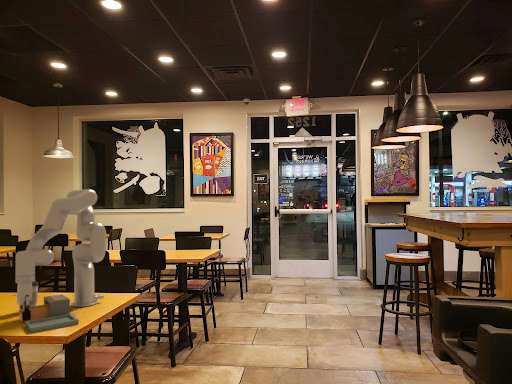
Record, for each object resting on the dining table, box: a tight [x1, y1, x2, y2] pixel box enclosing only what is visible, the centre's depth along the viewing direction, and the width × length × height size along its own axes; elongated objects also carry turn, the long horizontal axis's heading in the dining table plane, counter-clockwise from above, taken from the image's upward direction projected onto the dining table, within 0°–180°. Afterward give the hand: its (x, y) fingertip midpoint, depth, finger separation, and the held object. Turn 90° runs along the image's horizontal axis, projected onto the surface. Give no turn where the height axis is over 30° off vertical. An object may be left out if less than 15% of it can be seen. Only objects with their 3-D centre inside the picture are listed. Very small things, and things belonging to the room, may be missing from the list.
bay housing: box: [43, 294, 71, 317], centre depth 183 cm, size 16×8×8 cm, turn 38°
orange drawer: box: [18, 303, 49, 323], centre depth 177 cm, size 13×7×5 cm, turn 129°
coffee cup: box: [30, 280, 39, 307], centre depth 192 cm, size 9×9×15 cm
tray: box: [25, 313, 80, 334], centre depth 166 cm, size 18×13×2 cm
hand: (25, 318), depth 175 cm, fingers closed on orange drawer, 7 cm apart
